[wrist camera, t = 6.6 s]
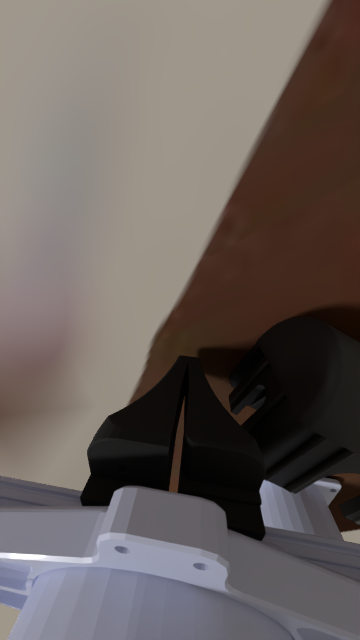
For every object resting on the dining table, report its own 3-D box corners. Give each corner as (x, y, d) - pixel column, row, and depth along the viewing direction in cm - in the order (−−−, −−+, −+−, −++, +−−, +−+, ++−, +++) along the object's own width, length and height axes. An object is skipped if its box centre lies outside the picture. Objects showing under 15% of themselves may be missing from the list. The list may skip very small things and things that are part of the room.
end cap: (411, 370, 12) (624, 502, 6) (327, 431, 15) (413, 564, 9) (285, 295, 11) (383, 362, 5) (220, 375, 14) (233, 480, 8)
